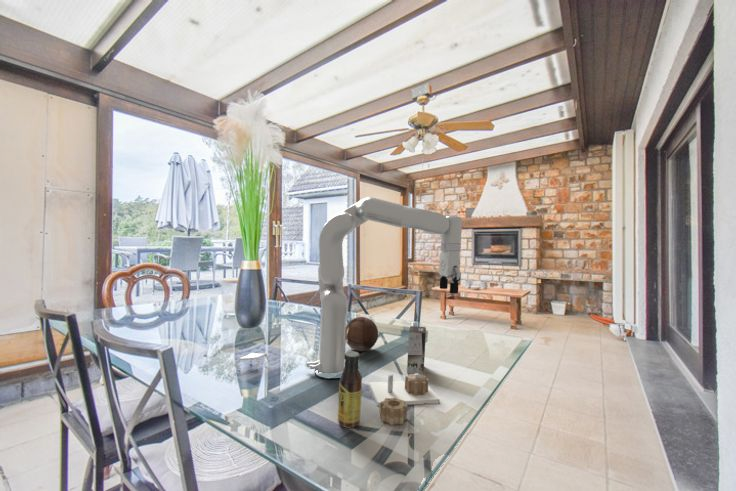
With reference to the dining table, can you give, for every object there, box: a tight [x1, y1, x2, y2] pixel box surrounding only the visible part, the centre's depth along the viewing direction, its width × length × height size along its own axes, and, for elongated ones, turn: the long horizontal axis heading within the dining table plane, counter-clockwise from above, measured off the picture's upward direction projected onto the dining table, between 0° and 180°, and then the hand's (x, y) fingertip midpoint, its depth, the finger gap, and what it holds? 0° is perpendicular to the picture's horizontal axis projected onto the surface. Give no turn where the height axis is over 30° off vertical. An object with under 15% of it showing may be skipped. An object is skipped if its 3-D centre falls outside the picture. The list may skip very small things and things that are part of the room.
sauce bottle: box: [337, 350, 363, 429], centre depth 95 cm, size 7×6×20 cm
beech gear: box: [379, 398, 408, 426], centre depth 99 cm, size 7×7×4 cm
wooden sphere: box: [345, 316, 379, 352], centre depth 153 cm, size 15×15×15 cm
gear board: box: [368, 373, 440, 407], centre depth 114 cm, size 20×14×7 cm
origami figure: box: [233, 352, 271, 370], centre depth 129 cm, size 12×8×5 cm
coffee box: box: [406, 325, 427, 376], centre depth 134 cm, size 9×6×16 cm
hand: (448, 290), depth 135 cm, fingers open, 9 cm apart
